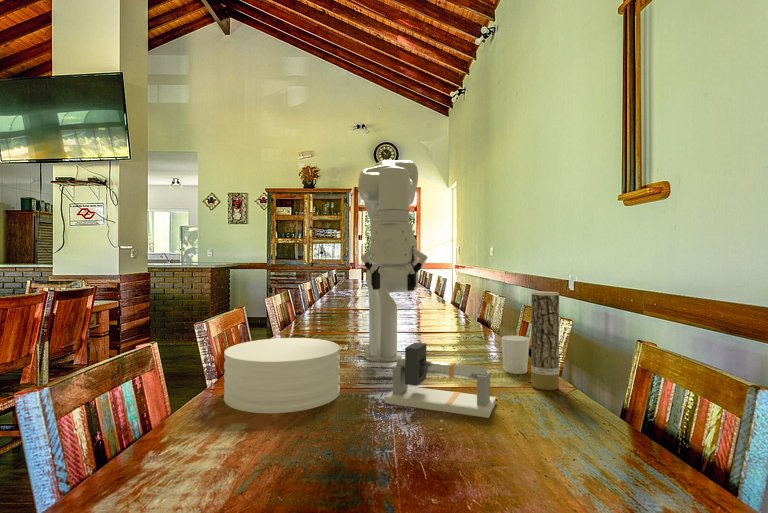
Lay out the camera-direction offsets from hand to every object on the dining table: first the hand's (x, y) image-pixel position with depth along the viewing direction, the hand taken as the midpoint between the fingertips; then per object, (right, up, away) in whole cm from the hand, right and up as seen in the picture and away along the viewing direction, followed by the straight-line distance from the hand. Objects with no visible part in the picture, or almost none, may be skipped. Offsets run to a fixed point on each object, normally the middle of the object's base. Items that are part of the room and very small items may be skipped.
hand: (393, 289), depth 108 cm
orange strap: (+14, -25, -6) cm, 29 cm away
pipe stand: (+11, -26, -5) cm, 29 cm away
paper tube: (+40, -27, +8) cm, 49 cm away
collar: (+5, -22, -2) cm, 22 cm away
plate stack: (-27, -27, +3) cm, 38 cm away
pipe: (+11, -20, -5) cm, 23 cm away
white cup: (+37, -27, +25) cm, 52 cm away
